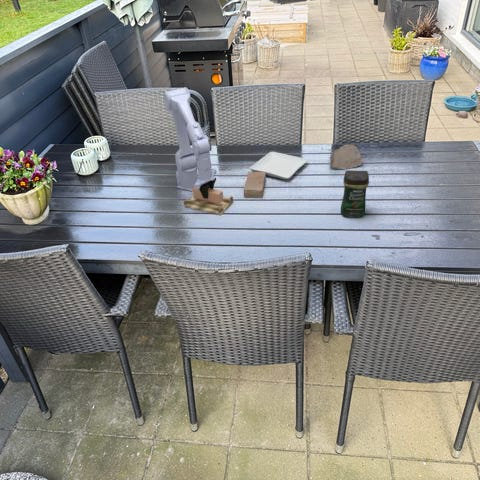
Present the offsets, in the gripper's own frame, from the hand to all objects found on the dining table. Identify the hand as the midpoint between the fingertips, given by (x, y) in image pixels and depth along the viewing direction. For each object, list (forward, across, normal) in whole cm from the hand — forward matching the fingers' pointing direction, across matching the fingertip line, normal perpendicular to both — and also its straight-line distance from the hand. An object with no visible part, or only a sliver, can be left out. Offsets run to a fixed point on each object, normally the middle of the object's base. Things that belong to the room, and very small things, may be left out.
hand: (207, 196), depth 190 cm
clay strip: (+2, 0, 0) cm, 2 cm away
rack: (+4, 0, 0) cm, 4 cm away
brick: (+5, +20, -12) cm, 24 cm away
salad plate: (+5, +41, -15) cm, 44 cm away
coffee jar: (+5, +16, -58) cm, 60 cm away
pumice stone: (+5, +55, -43) cm, 70 cm away
